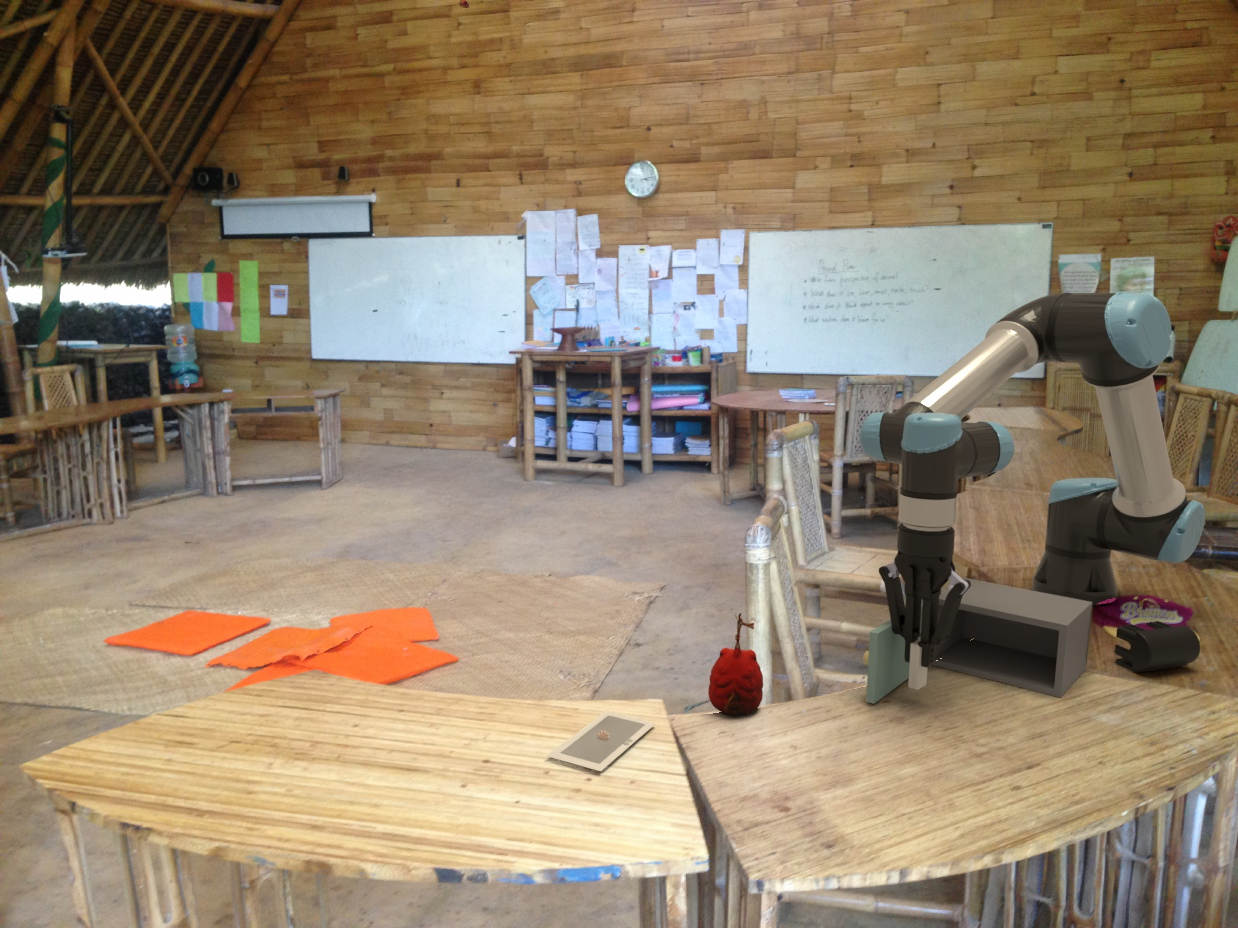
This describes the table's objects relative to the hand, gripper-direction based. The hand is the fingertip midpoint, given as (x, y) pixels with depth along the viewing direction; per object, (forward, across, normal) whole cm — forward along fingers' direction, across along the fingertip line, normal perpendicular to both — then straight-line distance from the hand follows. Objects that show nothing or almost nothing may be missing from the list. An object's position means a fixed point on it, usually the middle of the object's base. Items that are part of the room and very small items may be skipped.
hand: (917, 685), depth 133 cm
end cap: (+3, -20, -39) cm, 44 cm away
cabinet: (+3, -3, -23) cm, 23 cm away
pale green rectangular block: (+2, +6, -4) cm, 7 cm away
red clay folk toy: (+3, +17, +20) cm, 27 cm away
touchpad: (+3, +22, +41) cm, 47 cm away
